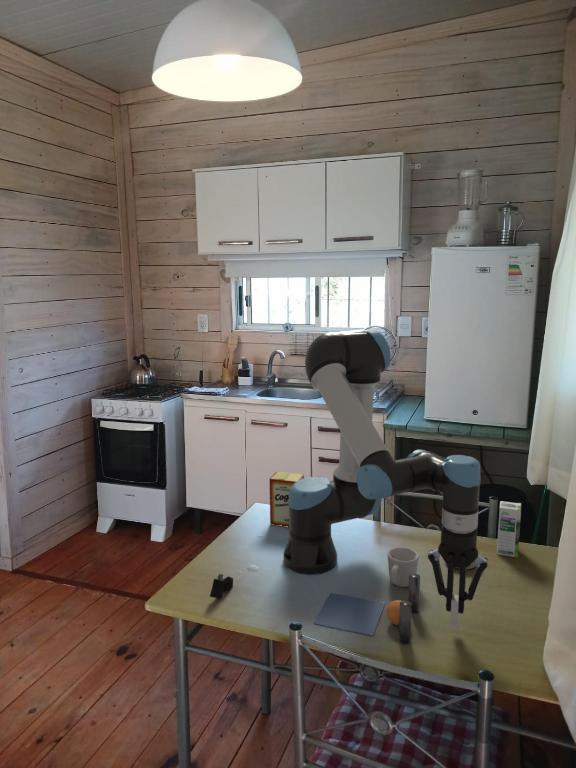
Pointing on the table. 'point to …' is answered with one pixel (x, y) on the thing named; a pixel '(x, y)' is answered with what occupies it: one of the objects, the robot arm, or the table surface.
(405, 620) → the post
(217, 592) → the black spring clamp
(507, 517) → the syrup box
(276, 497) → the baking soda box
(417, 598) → the post
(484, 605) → the table surface
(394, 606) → the ball
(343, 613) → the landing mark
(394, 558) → the cup
